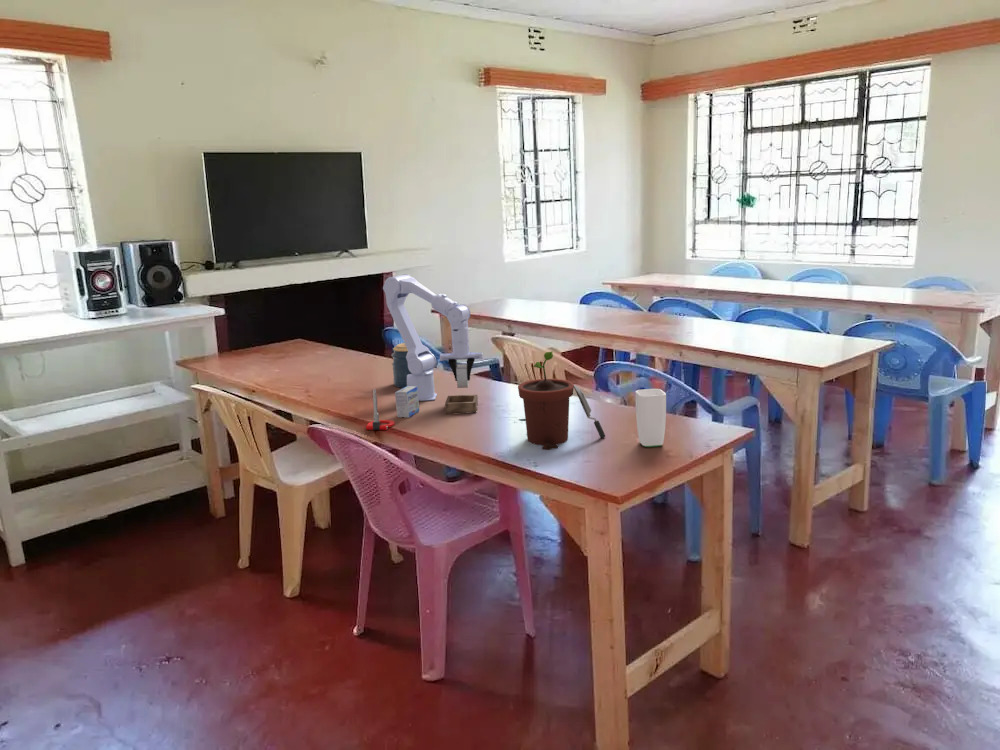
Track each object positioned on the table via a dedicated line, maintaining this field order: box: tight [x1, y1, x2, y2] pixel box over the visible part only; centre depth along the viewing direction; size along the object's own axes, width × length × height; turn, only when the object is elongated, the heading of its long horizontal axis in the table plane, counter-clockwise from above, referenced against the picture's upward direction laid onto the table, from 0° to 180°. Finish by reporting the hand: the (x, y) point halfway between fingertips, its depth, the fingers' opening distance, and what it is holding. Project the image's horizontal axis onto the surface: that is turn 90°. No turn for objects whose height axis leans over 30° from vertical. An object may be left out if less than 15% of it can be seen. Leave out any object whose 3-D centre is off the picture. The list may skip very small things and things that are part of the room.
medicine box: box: [394, 386, 420, 419], centre depth 256 cm, size 8×4×9 cm, turn 160°
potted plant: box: [517, 351, 606, 451], centre depth 221 cm, size 18×22×25 cm
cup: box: [635, 388, 667, 448], centre depth 214 cm, size 7×7×15 cm
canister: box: [391, 342, 412, 389], centre depth 296 cm, size 13×13×18 cm
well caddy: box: [444, 394, 479, 415], centre depth 260 cm, size 10×10×4 cm
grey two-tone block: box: [456, 363, 470, 389], centre depth 267 cm, size 4×5×7 cm
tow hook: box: [365, 388, 396, 431], centre depth 245 cm, size 8×13×9 cm
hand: (462, 380), depth 268 cm, fingers closed on grey two-tone block, 3 cm apart
